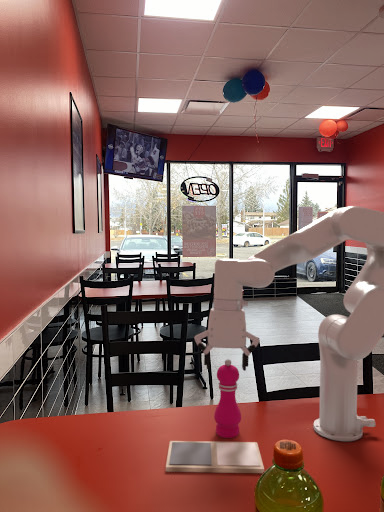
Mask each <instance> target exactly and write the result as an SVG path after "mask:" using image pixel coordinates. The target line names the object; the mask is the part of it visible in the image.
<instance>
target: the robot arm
mask: <svg viewBox="0 0 384 512" xmlns="http://www.w3.org/2000/svg"><path fill="white" fill-rule="evenodd" d="M349 240H350V241H351V240H352V241H357V242H361V243H364V244H365V247H366V250H367V251H366V253H367V256H366V261H365V263H364V265H363V266H362V268H361V269H360V271H359V272H358V274H357V275H356V277H355V278H354V280H353V282H352V283H351V284H350V286H349V287H348V288H347V290H346V292H345V294H344V296H343V306H344V308H345V310H346V311H347V312H349V313H350V314H349V316H345V315H342V314H331V315H327V316H325V318H324V319H323V320H322V321H321V323H320V324H319V326H318V330H317V331H318V332H317V333H318V334H317V337H318V346H319V356H320V357H319V358H320V360H319V361H320V364H319V365H320V367H319V368H320V371H319V372H320V373H319V418H317V419H315V420H313V421H314V422H313V430H314V431H315V433H317V434H318V435H320V436H321V437H324V438H325V439H326V438H327V439H328V440H332V441H339V442H354V441H357V440H359V439H361V438H362V437H363V428H364V427H368V428H369V427H370V428H374V427H376V421H375V419H373V418H367V416H366V415H365V416H364V415H363V416H362V415H361V416H359V415H358V414H357V409H358V406H357V405H358V372H359V369H358V367H359V366H358V361H360V360H363V359H364V358H366V357H367V356H369V355H370V353H372V352H373V350H375V347H376V346H377V345H378V343H379V342H380V341H381V339H382V337H383V336H384V211H380V210H375V209H371V208H366V207H363V206H357V205H350V206H345V207H339V208H336V209H334V210H332V211H330V212H328V213H326V214H325V215H323V216H320V217H319V218H318V219H316V220H314V221H313V222H311V223H309V224H308V225H306V226H304V227H302V228H300V229H298V230H297V231H295V232H293V233H291V234H289V235H287V236H285V237H284V238H282V239H280V240H278V241H276V242H274V243H272V244H270V245H269V246H267V247H265V248H262V249H261V250H260V251H258V252H256V253H255V254H253V255H251V256H249V257H248V258H246V259H245V260H241V259H238V258H229V257H228V258H218V259H217V260H216V261H215V263H214V278H213V280H214V283H213V284H214V285H213V286H214V287H213V294H214V295H213V308H212V307H211V308H210V312H209V316H208V325H207V326H208V327H207V329H206V330H204V331H203V332H201V333H198V334H196V335H195V336H194V341H195V343H196V345H197V347H198V348H199V350H201V352H202V353H203V355H204V356H203V357H204V359H203V365H204V366H206V370H210V363H211V361H210V359H211V354H210V352H211V350H212V349H214V348H215V349H240V350H241V351H242V358H241V360H242V361H241V362H242V363H241V368H242V370H243V371H244V372H246V371H247V368H248V367H249V356H251V354H252V352H254V351H255V350H256V349H257V346H258V345H259V343H260V340H261V339H260V338H259V336H256V335H254V334H252V333H250V332H248V331H247V323H246V314H245V313H246V312H245V309H243V308H245V307H248V304H249V303H248V300H244V299H243V289H244V288H243V287H251V288H255V289H256V288H257V289H262V288H266V287H268V286H269V285H271V284H272V282H273V281H274V279H275V273H276V272H278V271H280V270H283V269H285V268H287V267H290V266H293V265H297V264H302V263H306V262H307V263H308V262H310V261H312V260H314V259H316V258H318V257H319V256H320V255H322V254H324V253H326V252H328V251H329V250H331V249H333V248H335V247H336V246H338V245H340V244H342V243H343V242H346V241H349ZM206 337H207V344H206V345H205V344H204V343H203V342H202V339H204V338H206ZM247 339H249V340H250V341H252V342H251V344H250V345H249V346H248V347H247V346H246V344H247Z"/></svg>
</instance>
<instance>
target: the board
mask: <svg viewBox="0 0 384 512" xmlns="http://www.w3.org/2000/svg"><path fill="white" fill-rule="evenodd" d="M165 472H167V473H170V472H171V473H173V472H174V473H175V472H176V473H177V472H178V473H182V472H183V473H220V474H221V473H223V474H224V473H225V474H226V473H230V474H231V473H232V474H234V473H235V474H264V473H265V467H264V464H263V459H262V455H261V453H260V449H259V444H258V442H255V441H253V442H252V441H209V440H208V441H205V440H204V441H201V440H199V441H195V440H194V441H193V440H169V445H168V450H167V457H166V463H165ZM263 472H264V473H263Z"/></svg>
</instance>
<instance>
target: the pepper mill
mask: <svg viewBox="0 0 384 512" xmlns="http://www.w3.org/2000/svg"><path fill="white" fill-rule="evenodd" d="M216 378H217V380H218V381H219V382H218V389H219V391H220V395H219V396H220V398H219V402H218V404H217V406H216V408H215V411H214V416H213V418H214V421H215V423H216V425H215V433H216V435H218V436H219V437H221V438H226V439H232V438H235V437H236V438H237V437H238V436H239V435H240V426H239V424H240V423H241V422H242V413H241V410H240V407H239V405H238V402H237V400H236V392H237V390H238V381H239V379H240V372H239V370H238V368H237V367H236V366H235V365H233V364H232V360H231V359H229V358H226V359H225V360H224V364H223V365H221V366H219V367H218V369H217V372H216Z"/></svg>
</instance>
